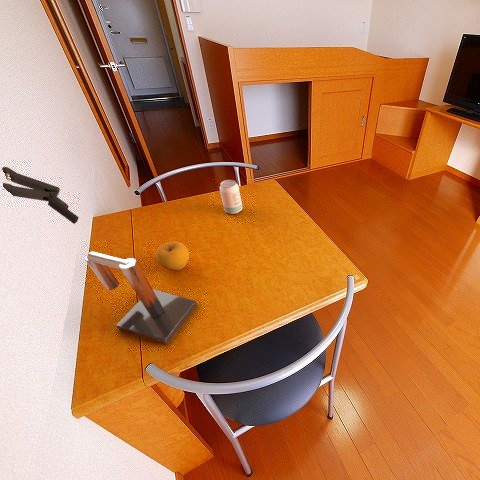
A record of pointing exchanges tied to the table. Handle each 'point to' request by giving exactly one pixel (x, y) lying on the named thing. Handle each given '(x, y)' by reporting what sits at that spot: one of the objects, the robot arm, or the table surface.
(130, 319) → the tap base
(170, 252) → the apple
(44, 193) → the robot arm
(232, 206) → the beverage can
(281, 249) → the table surface
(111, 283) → the spout
